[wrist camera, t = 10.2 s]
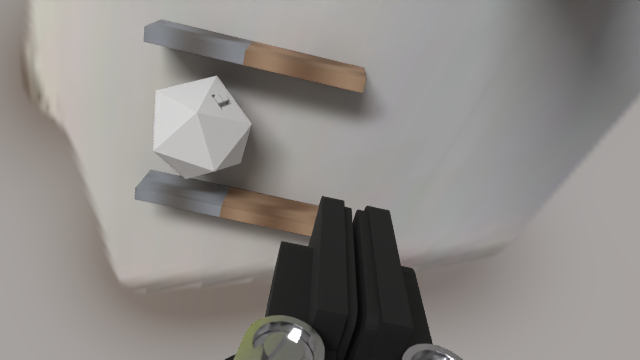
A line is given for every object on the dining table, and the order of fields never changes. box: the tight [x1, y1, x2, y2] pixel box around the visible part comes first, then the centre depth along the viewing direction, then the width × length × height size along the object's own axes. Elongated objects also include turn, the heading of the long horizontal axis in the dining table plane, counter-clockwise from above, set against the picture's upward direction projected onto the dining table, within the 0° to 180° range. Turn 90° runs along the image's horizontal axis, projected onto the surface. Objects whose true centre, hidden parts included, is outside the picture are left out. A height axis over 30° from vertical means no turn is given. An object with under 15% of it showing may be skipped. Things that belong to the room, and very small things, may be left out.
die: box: [153, 76, 252, 179], centre depth 40 cm, size 8×9×10 cm
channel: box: [135, 20, 366, 236], centre depth 42 cm, size 18×16×4 cm
